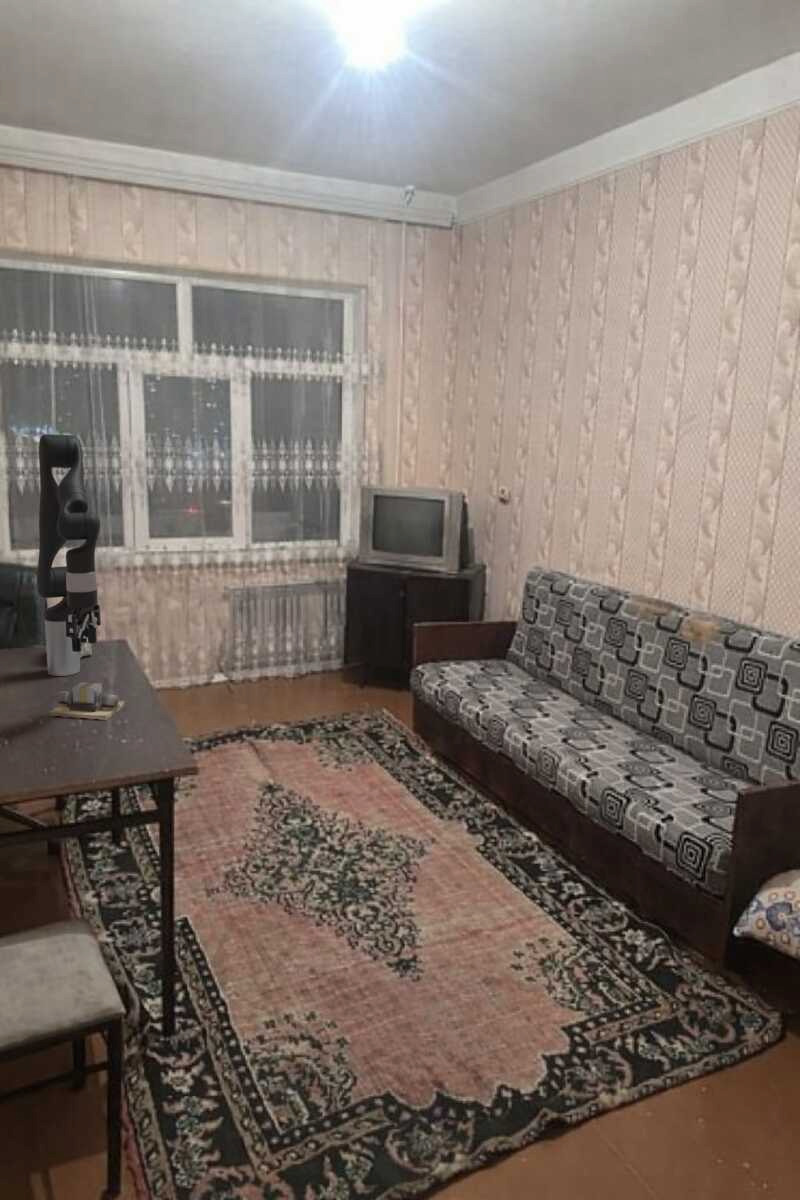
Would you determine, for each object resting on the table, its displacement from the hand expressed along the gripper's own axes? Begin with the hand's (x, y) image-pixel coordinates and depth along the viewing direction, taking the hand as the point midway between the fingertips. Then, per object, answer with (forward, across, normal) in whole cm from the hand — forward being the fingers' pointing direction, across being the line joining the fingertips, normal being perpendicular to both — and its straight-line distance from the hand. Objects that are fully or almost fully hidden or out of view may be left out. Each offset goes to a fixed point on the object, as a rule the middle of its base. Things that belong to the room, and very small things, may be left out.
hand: (84, 647), depth 224 cm
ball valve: (+18, +48, +28) cm, 58 cm away
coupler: (+17, 0, 0) cm, 17 cm away
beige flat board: (+18, 0, 0) cm, 18 cm away
